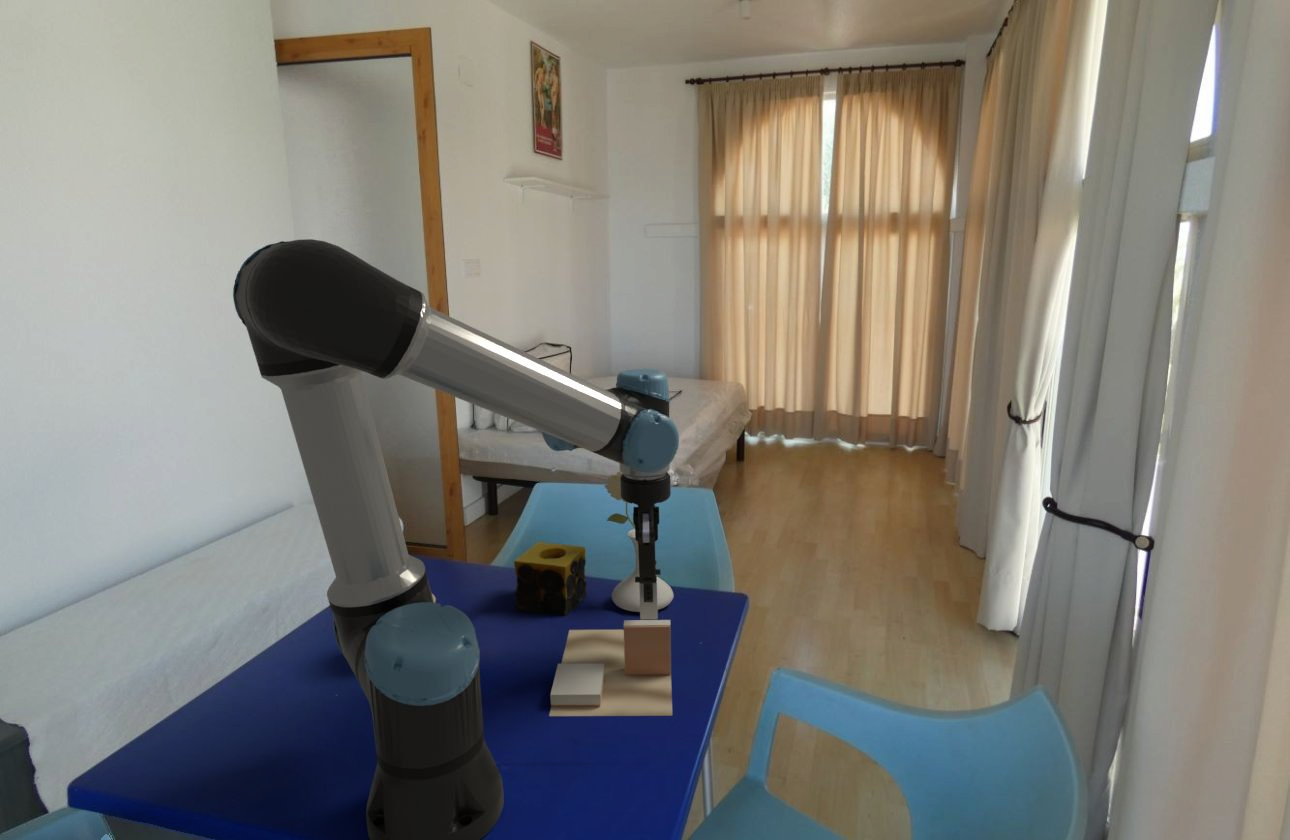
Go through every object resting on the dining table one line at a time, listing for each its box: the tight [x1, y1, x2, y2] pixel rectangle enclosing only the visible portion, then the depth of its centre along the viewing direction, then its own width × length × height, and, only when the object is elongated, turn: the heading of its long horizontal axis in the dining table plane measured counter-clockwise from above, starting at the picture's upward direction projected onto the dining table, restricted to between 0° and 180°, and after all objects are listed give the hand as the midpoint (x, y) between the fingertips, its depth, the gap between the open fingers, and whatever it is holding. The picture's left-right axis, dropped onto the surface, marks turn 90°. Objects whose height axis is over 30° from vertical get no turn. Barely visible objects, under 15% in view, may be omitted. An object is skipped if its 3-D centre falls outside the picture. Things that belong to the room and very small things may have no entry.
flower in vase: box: [604, 471, 674, 613], centre depth 132 cm, size 13×11×25 cm
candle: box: [513, 541, 587, 617], centre depth 134 cm, size 10×10×10 cm
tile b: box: [623, 619, 672, 675], centre depth 111 cm, size 2×7×8 cm, turn 89°
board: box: [548, 629, 673, 717], centre depth 113 cm, size 24×17×1 cm
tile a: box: [549, 663, 605, 707], centre depth 106 cm, size 2×7×8 cm
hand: (649, 616), depth 115 cm, fingers closed
